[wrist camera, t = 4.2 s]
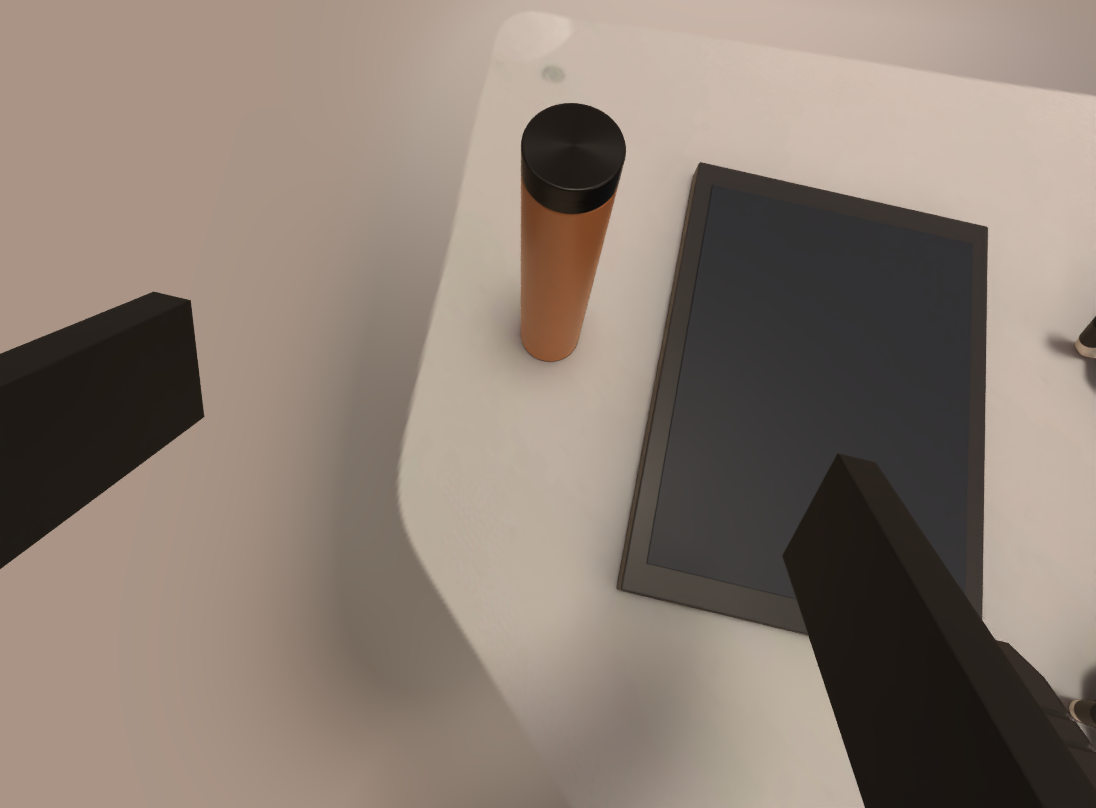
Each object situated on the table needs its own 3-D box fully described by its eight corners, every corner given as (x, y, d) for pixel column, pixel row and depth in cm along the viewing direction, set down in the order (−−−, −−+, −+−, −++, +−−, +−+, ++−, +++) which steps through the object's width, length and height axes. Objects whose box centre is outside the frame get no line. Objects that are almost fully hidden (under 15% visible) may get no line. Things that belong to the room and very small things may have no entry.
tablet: (616, 589, 23) (620, 590, 22) (693, 175, 28) (700, 159, 27) (963, 672, 23) (984, 677, 21) (972, 238, 28) (990, 224, 27)
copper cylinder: (514, 354, 25) (509, 177, 14) (528, 302, 26) (534, 92, 14) (572, 367, 25) (615, 201, 14) (584, 315, 26) (634, 114, 14)
